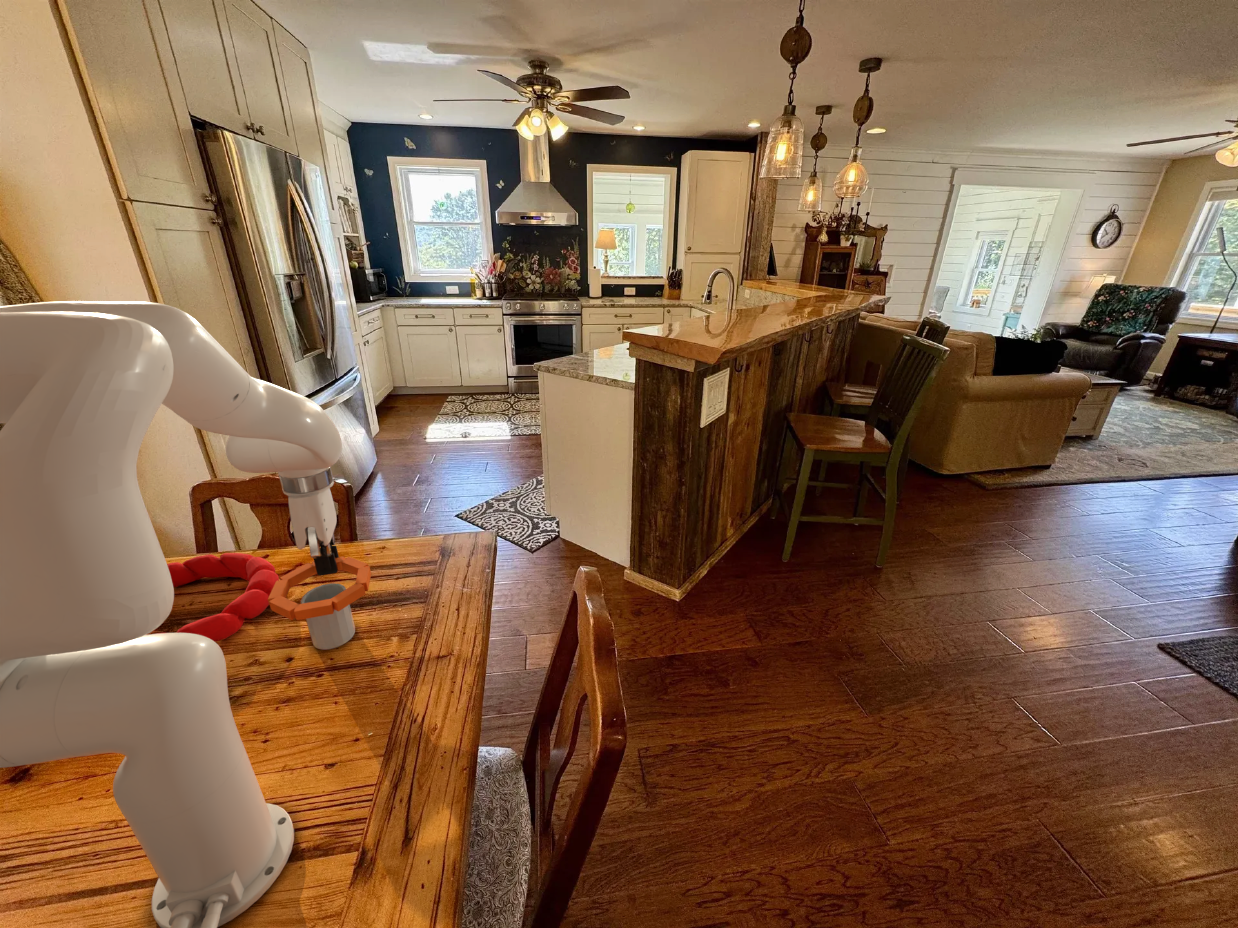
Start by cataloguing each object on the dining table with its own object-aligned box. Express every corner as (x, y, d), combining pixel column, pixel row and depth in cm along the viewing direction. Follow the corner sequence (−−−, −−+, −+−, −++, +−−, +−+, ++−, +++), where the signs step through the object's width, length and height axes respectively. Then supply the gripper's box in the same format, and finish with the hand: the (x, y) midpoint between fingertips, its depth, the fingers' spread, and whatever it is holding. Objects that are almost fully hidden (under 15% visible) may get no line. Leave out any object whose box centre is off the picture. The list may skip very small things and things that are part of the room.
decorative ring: (271, 534, 111) (80, 568, 94) (283, 606, 89) (36, 667, 71) (276, 562, 114) (91, 600, 96) (288, 638, 91) (50, 705, 74)
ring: (365, 608, 81) (363, 599, 81) (261, 626, 77) (258, 617, 76) (373, 560, 94) (372, 552, 93) (285, 573, 89) (283, 565, 89)
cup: (352, 644, 87) (342, 603, 84) (308, 653, 85) (296, 611, 82) (357, 619, 93) (348, 580, 90) (316, 627, 91) (305, 587, 87)
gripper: (292, 464, 89) (314, 550, 96) (268, 502, 76) (296, 599, 83) (339, 459, 92) (357, 544, 99) (323, 496, 78) (345, 591, 85)
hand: (329, 568), depth 91 cm, fingers closed on ring, 1 cm apart
